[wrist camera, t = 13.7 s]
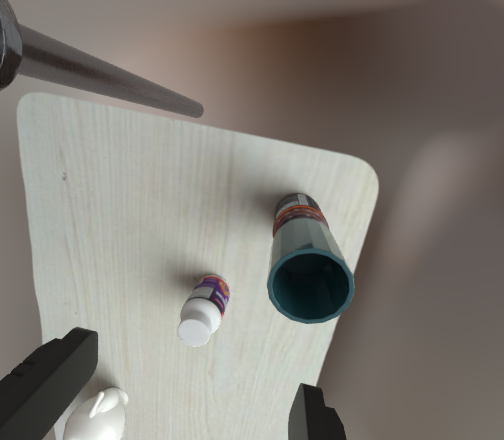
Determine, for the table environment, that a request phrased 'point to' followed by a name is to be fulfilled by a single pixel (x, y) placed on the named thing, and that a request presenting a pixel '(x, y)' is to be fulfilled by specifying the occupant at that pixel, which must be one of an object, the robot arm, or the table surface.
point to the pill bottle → (203, 310)
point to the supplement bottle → (297, 210)
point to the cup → (308, 273)
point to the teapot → (98, 417)
